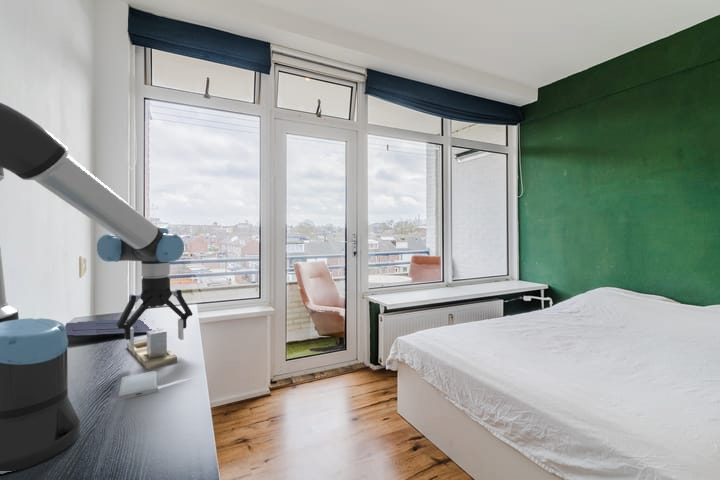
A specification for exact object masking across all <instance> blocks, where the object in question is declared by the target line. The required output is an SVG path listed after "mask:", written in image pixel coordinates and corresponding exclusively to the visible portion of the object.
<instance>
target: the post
mask: <svg viewBox="0 0 720 480" xmlns="http://www.w3.org/2000/svg"><path fill="white" fill-rule="evenodd" d="M157 329H158V330H152V331H147V332H146V339H147V359H148V360H151V359H155V358H160V357H164V356H167V349H168V343H167V342H168V341H167V339H168V338H167V337H168V334H167V330H165V329H164V328H157Z"/></svg>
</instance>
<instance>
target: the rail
mask: <svg viewBox="0 0 720 480" xmlns="http://www.w3.org/2000/svg"><path fill="white" fill-rule="evenodd" d="M126 348H127V349H128V350H129V351H130V352H131V354H133V356H134V357H135V358H136V359H137V361H139V362H140V363H141V364H142V366H144V368H145V369H146V370H151V369H155V368H158V367H162V366H163V367H164V366H167V365H170V364H171V365H172V364H174V363H177V362H178V356H177V355H176V354H174V353H173V352H172V351H171V350H170V349H168V348H167V356H164V357H160V358H155V359H151V360H148V359H147V338H146V339H141V340H136V341H135V340H134V350H133V351H131V350H130V349H129V342H127V343H126Z"/></svg>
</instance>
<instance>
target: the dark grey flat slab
mask: <svg viewBox="0 0 720 480" xmlns="http://www.w3.org/2000/svg"><path fill="white" fill-rule="evenodd" d="M140 319H141V318H138V319H137V321H136V322H135V323H134V324H133V325H132V328H133V329H134V333H147V331H152V329H149V327H148V326H147V325H146V324H144V322H143V321H141V320H140ZM128 320H129V319H127V320H126V322H127V321H128ZM118 321H119V319H105V320H104V319H103V320H99V319H98V320H87V321H77V322H66V323H65V328H66V333H67V336H98V335H99V336H100V335H109V334H110V335H111V334H124V329H123V328H118V327H117V323H118ZM126 322H125V323H126Z"/></svg>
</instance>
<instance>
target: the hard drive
mask: <svg viewBox="0 0 720 480" xmlns="http://www.w3.org/2000/svg"><path fill="white" fill-rule="evenodd" d="M157 373H158V371H157V370H152V371H151V370H150V371H147V372H141V373H137V374H131V375H126V376H122V377H121V380H120V386H119V391H118V401H121V400H124V399H129V398H133V397H134V398H135V397H138V396H144V395H149V394H152V393H157V392H158V391H159V387H158V386H159V385H158V384H159V383H158V374H157Z"/></svg>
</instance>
